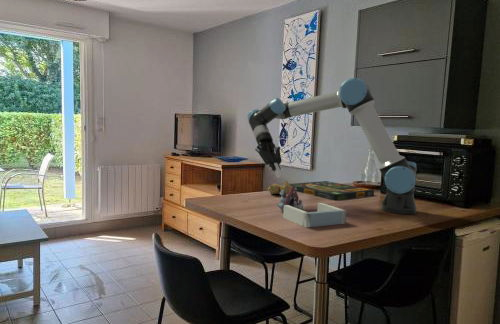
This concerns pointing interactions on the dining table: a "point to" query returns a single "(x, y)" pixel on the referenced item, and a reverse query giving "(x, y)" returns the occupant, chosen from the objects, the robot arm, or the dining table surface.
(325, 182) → the pizza box
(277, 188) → the ginger root
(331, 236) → the dining table surface
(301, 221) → the cradle
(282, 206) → the brake caliper
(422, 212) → the dining table surface
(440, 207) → the dining table surface
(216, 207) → the dining table surface
